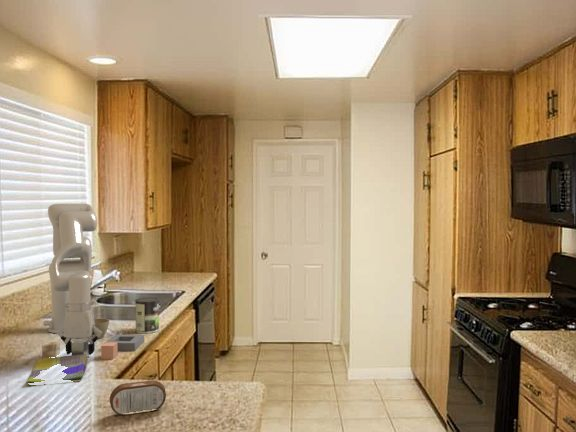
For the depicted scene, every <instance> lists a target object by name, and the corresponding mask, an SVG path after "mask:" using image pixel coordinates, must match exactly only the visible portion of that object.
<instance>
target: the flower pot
mask: <svg viewBox="0 0 576 432" xmlns="http://www.w3.org/2000/svg"><path fill="white" fill-rule="evenodd" d="M94 323H95V327H96V328H98V329H99V330H100V331H102V334H101V336H100V337H99V339H98V340H100V339H103V338H104V337H105V335H106V334H107V331H108V329H109V325H110V319H109V318H102V317H97V318H94ZM96 335H97V333H95V334H94V335H93V336H94V337H95V336H96Z"/></svg>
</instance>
